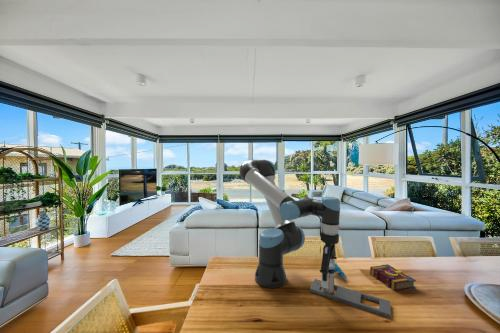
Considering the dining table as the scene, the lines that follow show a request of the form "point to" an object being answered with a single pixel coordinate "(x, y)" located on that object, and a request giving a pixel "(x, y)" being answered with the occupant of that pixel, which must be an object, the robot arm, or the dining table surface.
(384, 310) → the rail
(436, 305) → the dining table surface
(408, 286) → the decorative book
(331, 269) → the beer can
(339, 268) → the gear
